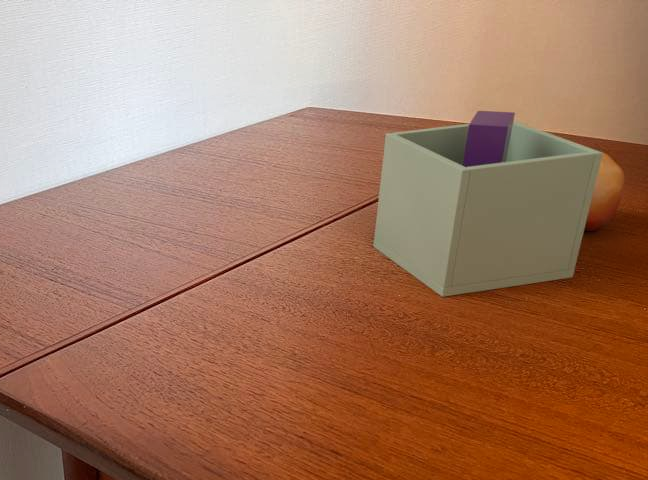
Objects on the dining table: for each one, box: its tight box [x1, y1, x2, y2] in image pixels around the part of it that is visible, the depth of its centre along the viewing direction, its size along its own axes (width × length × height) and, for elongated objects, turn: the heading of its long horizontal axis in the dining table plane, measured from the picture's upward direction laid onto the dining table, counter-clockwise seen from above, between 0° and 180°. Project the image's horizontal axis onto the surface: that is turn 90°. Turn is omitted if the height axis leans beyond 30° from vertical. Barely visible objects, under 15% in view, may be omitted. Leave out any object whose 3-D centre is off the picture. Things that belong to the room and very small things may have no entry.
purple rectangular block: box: [462, 110, 516, 167], centre depth 75 cm, size 3×5×12 cm, turn 152°
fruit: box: [584, 151, 625, 232], centre depth 84 cm, size 8×8×8 cm
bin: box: [372, 120, 604, 298], centre depth 76 cm, size 12×12×11 cm
